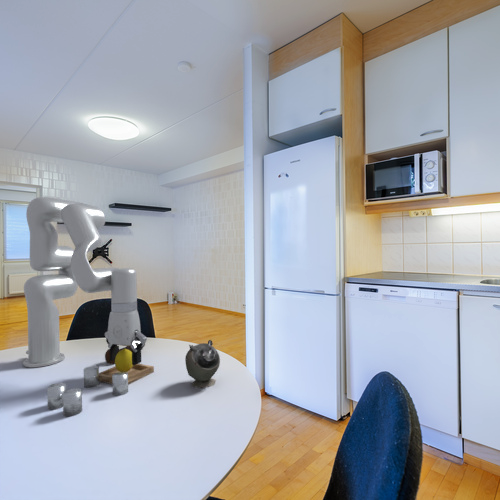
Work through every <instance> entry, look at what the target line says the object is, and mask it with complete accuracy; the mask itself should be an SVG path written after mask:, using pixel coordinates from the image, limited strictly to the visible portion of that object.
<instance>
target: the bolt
mask: <svg viewBox="0 0 500 500" xmlns="http://www.w3.org/2000/svg"><path fill="white" fill-rule="evenodd" d="M135 346H136V347H137V345H136V344H135ZM124 348H125V349H127V350H130V351H131V352H134V351H133V349H132V348H131V346H123V347H122V348H119V351H121V350H123V349H124ZM104 360H105V362H106V363H107V364H108V365H115V360H113V361H110V348H108V349H107V350H106V352H105V354H104Z"/></svg>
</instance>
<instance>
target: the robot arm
mask: <svg viewBox="0 0 500 500" xmlns="http://www.w3.org/2000/svg"><path fill="white" fill-rule="evenodd" d="M25 213H26V221H27V226H28V230H29V264H30V268H31V270H33V271H37V272H56V271H57V272H58V274H57V273H55V274H40V275H35V276H31V277H30V278H28V279H27V280H26V281H25V282H24V285H23V292H24V293H23V294H24V297H25V302H26V307H27V349H28V350H26V351H25V354H27V355H28V356H27V358H26V359H25V360H24V361H22V366H23V367H25V368H41V367H45V366H46V367H47V366H50V365H54V364H57V363H60V362H61V361H63V360H64V359H65V356H66V355H65V354H64V353H62V352H60V312H59V308H58V307H57V305H56V303H54V301H56V300H60V299H68V298H70V297H73V296H75V294H76V293H77V290H78V287H79V289H81V291H83V292H84V293H87V294H96V293H101V292H108V291H111V293H110V296H111V298H110V301H111V304H110V305H111V311H110V312H109V317H108V324H107V331H105V332H104V336H105V339H106V340H105V342H106V343H107V344H108V345H107V347H108V349H110V361H113V360H115V358H116V355H117V353H118V352H119V349H120V346H122V347H126V346H131V348H132V349H133V351H134V352H132V365H136V364H142V350H143V349H144V347H146V342H147V341H148V340H147V339H148V338H147V336H146V335H144V334H143V333H142V332H141V331H142V330H141V320H140V315H139V311H138V293H137V292H138V291H137V289H138V288H137V286H138V285H137V271H136V269H134V268H126V267H125V268H119V267H99V268H92V266H91V264H90V262H89V260H88V259H89V258H88V253H89V252H92V251H94V250H96V249H97V248H98V247H100V245H101V244H102V241H103V238H102V236H101V234H100V233H99V230H100V229H102V228H103V227H104V226H105V224H106V216H105V213H104V211H103V210H102V209H101V208H100V207H98V206H94V205H91V204H90V205H89V204H85V203H83V202H79V201H74V200H73V201H72V200H68V199H62V198H56V197H48V196H39V197H35V198H33V199H32V200H31V201H30V202H29V203H28V205H27V207H26V212H25ZM52 222H53V223H62V224H64V226H65V228H66V230H67V232H68V235H69V237H70V239H71V241H72V243H73V245H74V248H73V247H71V246H68V245H59V242H58V240H59V239H58V238H59V237H58V232H57V229H56V227H55V226H54V225H53V224H52ZM135 344H136V345H137V347H136V346H135Z"/></svg>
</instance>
